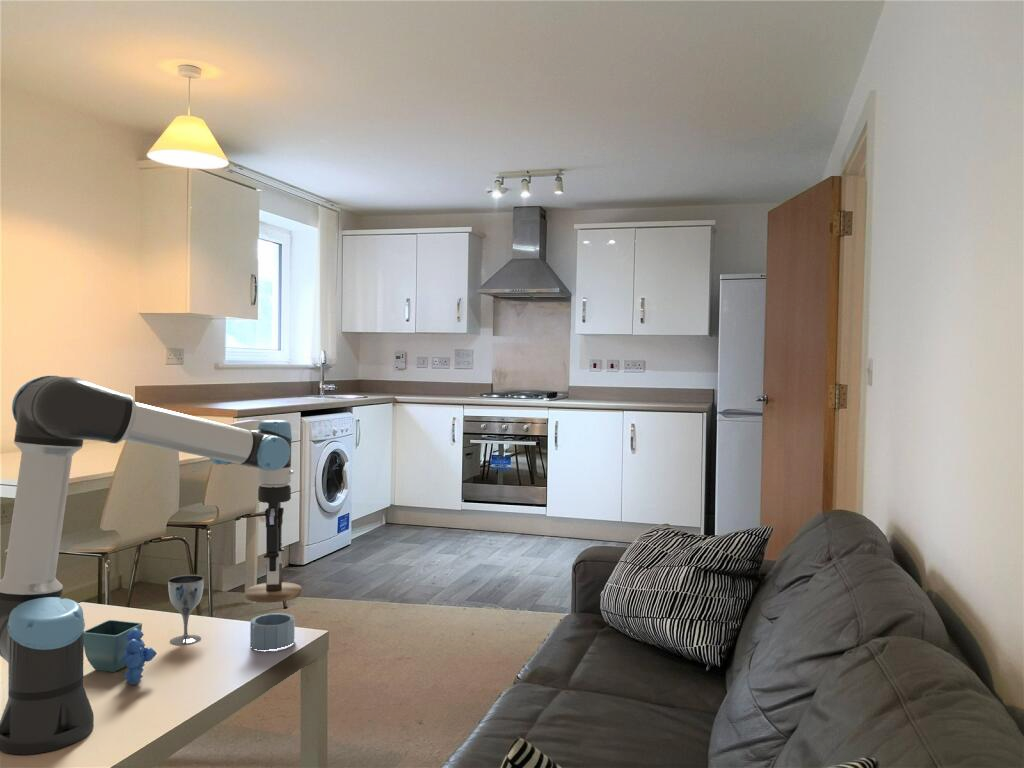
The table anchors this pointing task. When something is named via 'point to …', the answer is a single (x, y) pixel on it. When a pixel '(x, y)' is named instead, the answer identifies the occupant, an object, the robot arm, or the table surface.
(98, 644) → the flower pot
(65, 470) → the robot arm
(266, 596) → the lid
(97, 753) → the table surface
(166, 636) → the table surface
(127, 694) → the table surface
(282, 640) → the bowl
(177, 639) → the wine glass
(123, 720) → the table surface
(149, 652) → the grapes
